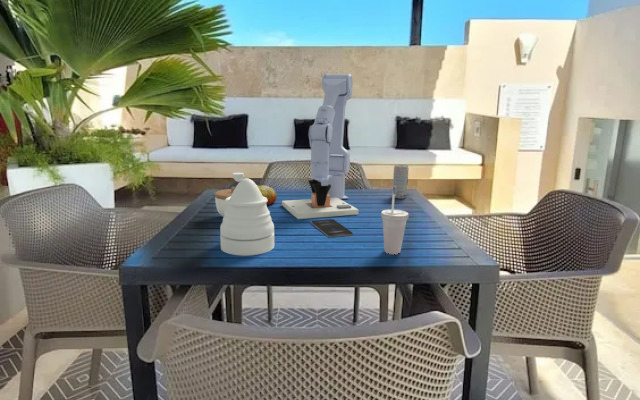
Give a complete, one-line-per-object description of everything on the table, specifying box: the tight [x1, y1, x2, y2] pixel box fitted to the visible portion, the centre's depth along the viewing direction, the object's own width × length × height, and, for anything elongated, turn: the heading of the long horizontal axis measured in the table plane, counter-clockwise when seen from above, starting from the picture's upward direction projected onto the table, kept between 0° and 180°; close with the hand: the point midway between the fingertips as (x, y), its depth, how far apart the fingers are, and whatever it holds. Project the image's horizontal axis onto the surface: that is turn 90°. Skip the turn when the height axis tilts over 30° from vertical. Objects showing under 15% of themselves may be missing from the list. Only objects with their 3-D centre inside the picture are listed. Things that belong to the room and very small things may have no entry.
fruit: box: [256, 184, 278, 206], centre depth 148 cm, size 11×10×8 cm
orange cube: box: [311, 192, 330, 208], centre depth 140 cm, size 5×5×5 cm
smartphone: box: [310, 218, 354, 239], centre depth 120 cm, size 8×1×15 cm
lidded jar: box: [214, 186, 236, 219], centre depth 129 cm, size 11×11×9 cm
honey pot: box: [219, 172, 275, 256], centre depth 103 cm, size 13×13×18 cm
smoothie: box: [380, 194, 410, 255], centre depth 101 cm, size 6×6×14 cm
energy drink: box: [391, 164, 409, 200], centre depth 161 cm, size 5×5×12 cm
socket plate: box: [281, 197, 360, 220], centre depth 141 cm, size 18×20×2 cm
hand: (319, 203), depth 140 cm, fingers closed on orange cube, 5 cm apart
